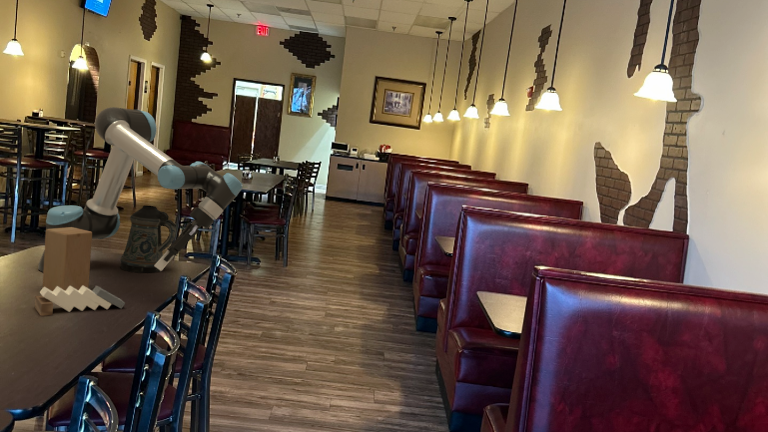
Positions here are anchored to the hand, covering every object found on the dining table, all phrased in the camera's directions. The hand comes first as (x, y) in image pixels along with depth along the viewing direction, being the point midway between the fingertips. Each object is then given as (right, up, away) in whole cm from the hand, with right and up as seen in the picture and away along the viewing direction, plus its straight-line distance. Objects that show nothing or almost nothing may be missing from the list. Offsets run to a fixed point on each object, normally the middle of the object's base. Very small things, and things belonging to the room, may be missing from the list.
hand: (157, 268), depth 211 cm
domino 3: (-15, -10, -13) cm, 22 cm away
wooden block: (-32, -8, +3) cm, 33 cm away
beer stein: (-21, -4, +46) cm, 50 cm away
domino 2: (-18, -10, -15) cm, 25 cm away
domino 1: (-20, -10, -17) cm, 29 cm away
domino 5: (-9, -10, -8) cm, 16 cm away
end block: (-26, -11, -21) cm, 35 cm away
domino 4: (-12, -10, -10) cm, 19 cm away
